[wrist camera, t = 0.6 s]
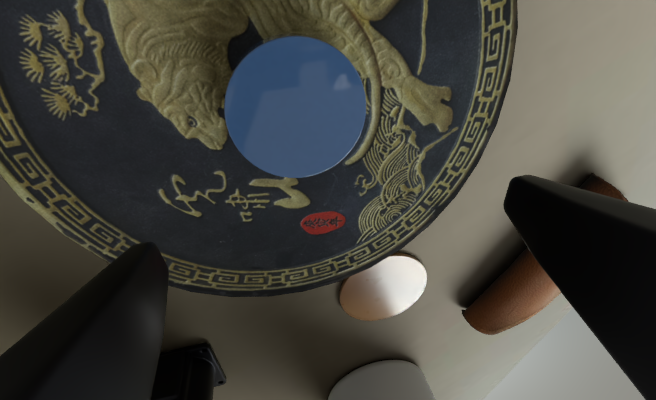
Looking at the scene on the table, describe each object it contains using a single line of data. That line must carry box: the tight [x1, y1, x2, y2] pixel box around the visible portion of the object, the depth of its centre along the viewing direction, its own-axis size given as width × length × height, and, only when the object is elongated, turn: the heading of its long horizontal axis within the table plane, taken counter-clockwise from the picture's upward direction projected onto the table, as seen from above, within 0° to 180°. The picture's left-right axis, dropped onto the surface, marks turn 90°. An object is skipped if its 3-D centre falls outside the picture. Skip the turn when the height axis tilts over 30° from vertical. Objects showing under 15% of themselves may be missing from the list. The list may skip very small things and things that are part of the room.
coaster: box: [339, 253, 427, 321], centre depth 30 cm, size 9×9×1 cm
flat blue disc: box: [224, 33, 366, 178], centre depth 17 cm, size 7×7×2 cm
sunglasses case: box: [462, 173, 628, 335], centre depth 31 cm, size 18×7×7 cm, turn 152°
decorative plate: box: [0, 0, 518, 297], centre depth 19 cm, size 30×2×30 cm
